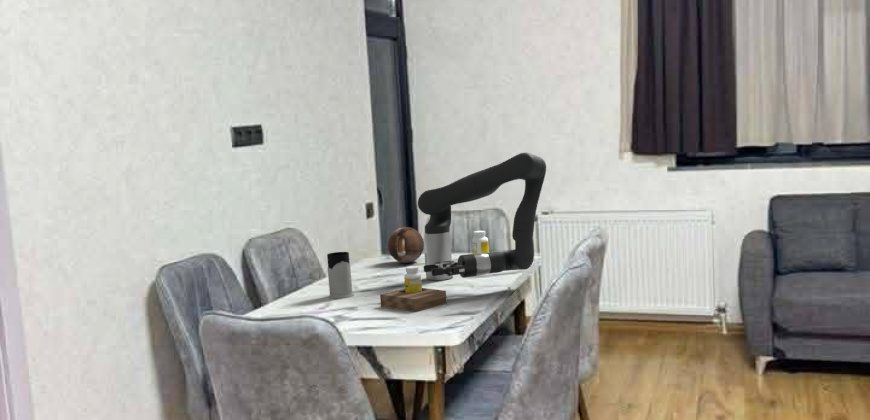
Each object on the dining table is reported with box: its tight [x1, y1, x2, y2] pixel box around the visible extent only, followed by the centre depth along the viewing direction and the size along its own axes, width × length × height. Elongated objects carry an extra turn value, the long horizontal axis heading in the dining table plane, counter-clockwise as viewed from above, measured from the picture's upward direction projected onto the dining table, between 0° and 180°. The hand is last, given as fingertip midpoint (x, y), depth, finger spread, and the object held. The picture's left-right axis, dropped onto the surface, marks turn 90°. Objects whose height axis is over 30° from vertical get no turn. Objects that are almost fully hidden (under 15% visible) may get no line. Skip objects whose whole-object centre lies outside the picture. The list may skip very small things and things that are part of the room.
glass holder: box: [326, 251, 355, 300], centre depth 311 cm, size 9×14×15 cm, turn 27°
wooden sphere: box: [387, 226, 425, 264], centre depth 371 cm, size 15×15×15 cm
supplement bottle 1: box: [404, 265, 423, 294], centre depth 288 cm, size 5×5×10 cm
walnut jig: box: [379, 287, 448, 313], centre depth 286 cm, size 16×14×4 cm
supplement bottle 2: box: [471, 230, 490, 254], centre depth 358 cm, size 7×7×13 cm
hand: (427, 270), depth 290 cm, fingers open, 8 cm apart
